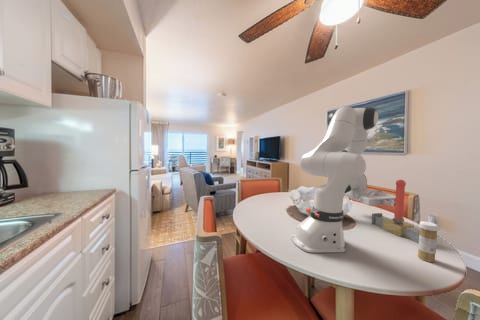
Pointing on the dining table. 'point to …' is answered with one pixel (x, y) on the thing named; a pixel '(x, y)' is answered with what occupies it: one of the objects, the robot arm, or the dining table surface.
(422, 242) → the sprinkles bottle
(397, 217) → the lever
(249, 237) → the dining table surface
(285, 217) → the dining table surface
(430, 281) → the dining table surface
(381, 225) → the valve body
